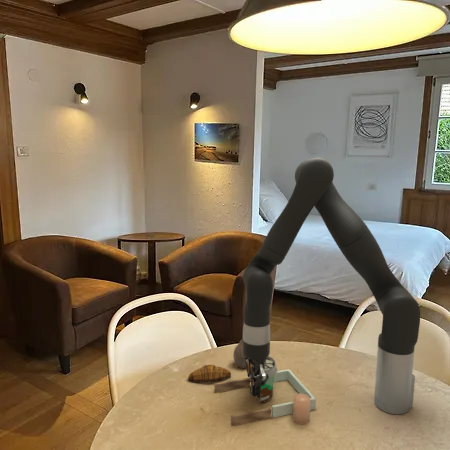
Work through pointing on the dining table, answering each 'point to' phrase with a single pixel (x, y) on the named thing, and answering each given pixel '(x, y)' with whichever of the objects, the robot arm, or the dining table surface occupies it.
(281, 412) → the bay
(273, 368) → the food container
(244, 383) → the brown flat strips
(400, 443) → the dining table surface
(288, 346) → the dining table surface
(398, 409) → the robot arm
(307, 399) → the tan rounded piece
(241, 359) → the vase
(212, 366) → the croissant
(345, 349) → the dining table surface
